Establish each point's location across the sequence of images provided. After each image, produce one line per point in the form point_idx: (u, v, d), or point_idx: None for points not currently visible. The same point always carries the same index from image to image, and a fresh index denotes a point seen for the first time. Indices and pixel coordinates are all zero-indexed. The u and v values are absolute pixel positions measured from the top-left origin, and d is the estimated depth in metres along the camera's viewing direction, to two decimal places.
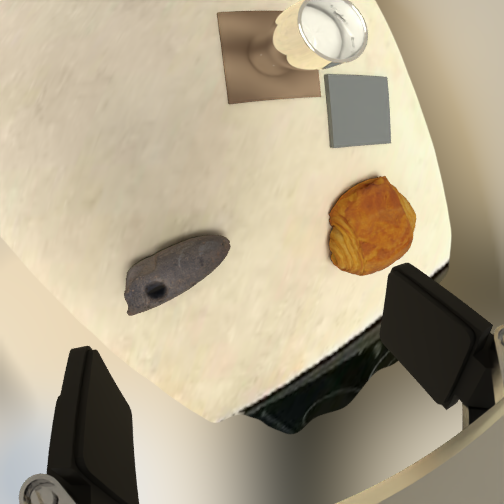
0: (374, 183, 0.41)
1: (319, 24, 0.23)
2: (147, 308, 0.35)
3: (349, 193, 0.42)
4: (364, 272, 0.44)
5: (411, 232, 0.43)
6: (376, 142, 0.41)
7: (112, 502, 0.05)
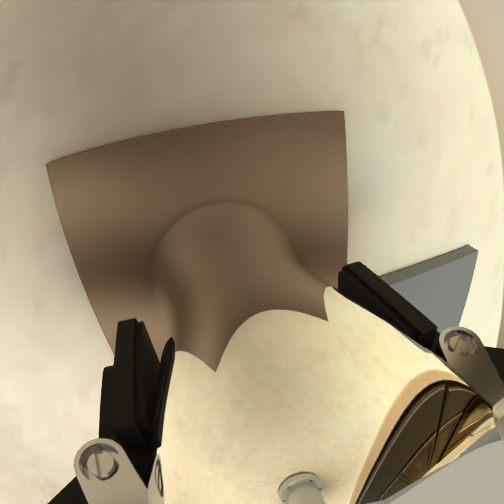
0: None
1: None
2: None
3: None
4: None
5: None
6: None
7: None
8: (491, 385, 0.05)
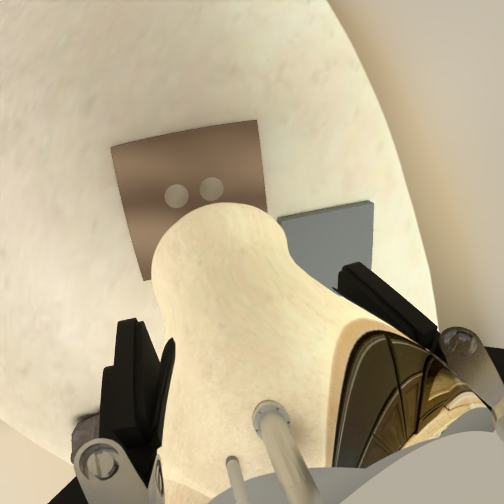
0: None
1: None
2: None
3: None
4: None
5: None
6: None
7: None
8: (491, 385, 0.05)
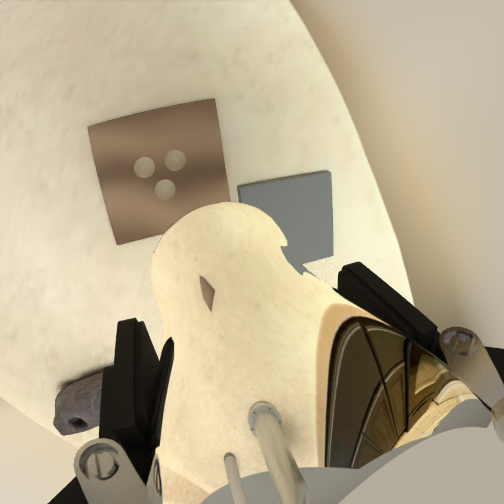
0: None
1: None
2: None
3: None
4: None
5: None
6: (312, 259, 0.36)
7: None
8: (491, 385, 0.05)
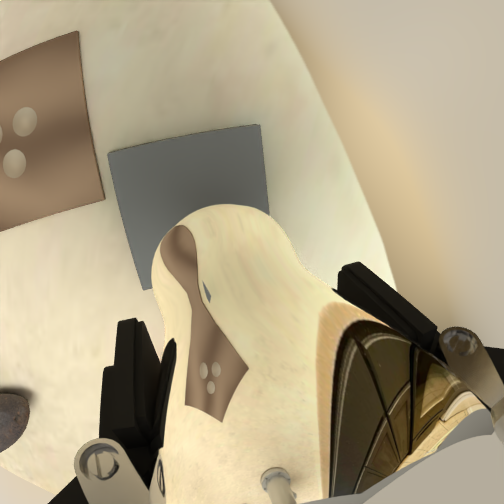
0: None
1: None
2: None
3: None
4: None
5: None
6: None
7: None
8: (491, 385, 0.05)
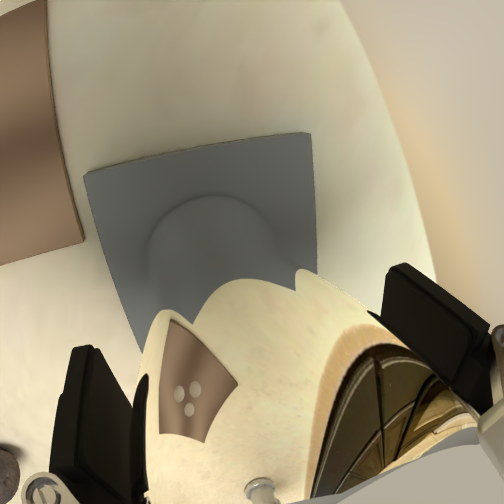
0: None
1: None
2: None
3: None
4: None
5: None
6: None
7: (114, 500, 0.05)
8: None
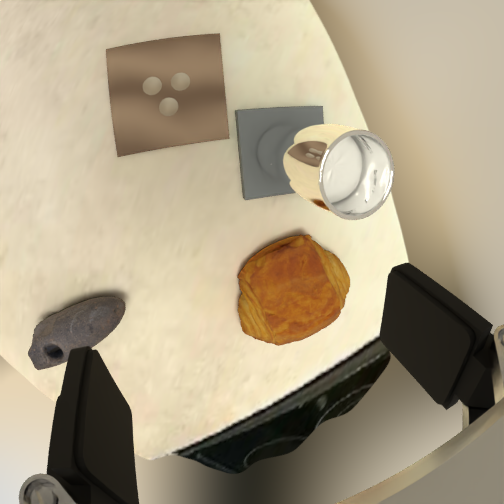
0: (290, 245, 0.37)
1: (340, 152, 0.24)
2: (50, 366, 0.30)
3: (259, 255, 0.38)
4: (277, 342, 0.40)
5: (337, 302, 0.38)
6: None
7: (112, 501, 0.05)
8: None
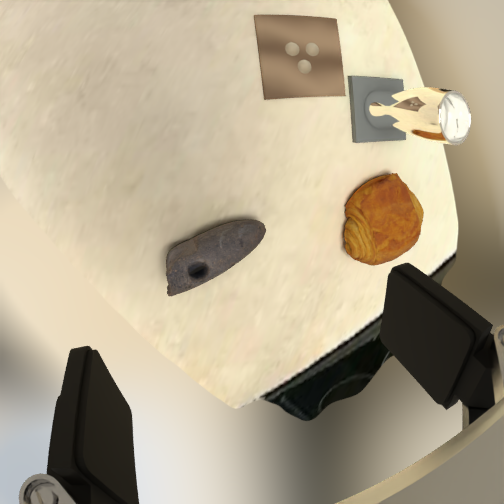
0: (387, 179, 0.44)
1: None
2: (188, 288, 0.38)
3: (364, 187, 0.45)
4: (376, 261, 0.47)
5: (419, 226, 0.46)
6: (393, 138, 0.44)
7: (112, 501, 0.05)
8: None
